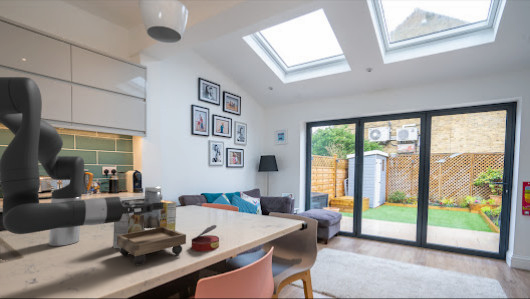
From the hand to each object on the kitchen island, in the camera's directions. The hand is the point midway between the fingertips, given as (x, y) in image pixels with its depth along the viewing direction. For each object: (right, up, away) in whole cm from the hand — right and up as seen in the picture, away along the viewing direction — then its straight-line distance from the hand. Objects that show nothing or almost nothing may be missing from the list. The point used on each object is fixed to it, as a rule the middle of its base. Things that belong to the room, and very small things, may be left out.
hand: (158, 204), depth 86 cm
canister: (-1, -7, -2) cm, 7 cm away
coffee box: (-15, -17, +8) cm, 24 cm away
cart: (-1, -16, -2) cm, 16 cm away
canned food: (+15, -17, +6) cm, 23 cm away
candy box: (-3, -17, +14) cm, 23 cm away
